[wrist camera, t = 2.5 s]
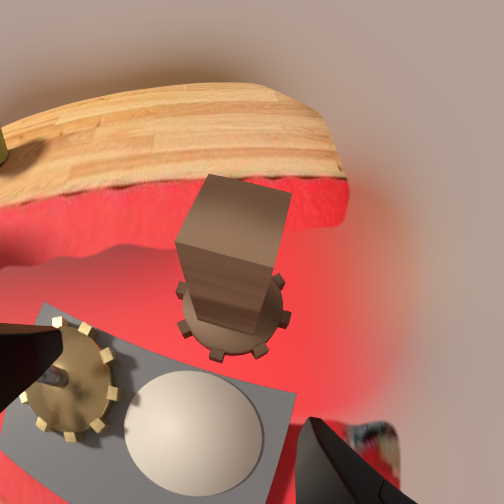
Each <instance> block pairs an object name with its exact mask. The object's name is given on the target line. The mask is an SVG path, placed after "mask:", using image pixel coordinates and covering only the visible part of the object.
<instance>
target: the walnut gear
mask: <svg viewBox="0 0 504 504" xmlns="http://www.w3.org/2000/svg"><path fill="white" fill-rule="evenodd" d="M291 196H292V193H288V192H285V191H281V190H277V189H273V188H269V187H265V186H261V185H256V184H252V183H248V182H244V181H239V180H235V179H231V178H226V177H222V176H217V175H212V174H208V176H207V178H206V180H205V182H204V184H203V186H202V188H201V189H200V191H199V193H198V195H197V197H196V199H195V201H194V203H193V205H192V207H191V209H190V211H189V213H188V215H187V217H186V219H185V221H184V223H183V225H182V227H181V229H180V231H179V233H178V235H177V237H176V239H175V245H176V248H177V252H178V255H179V259H180V263H181V267H182V270H183V274H184V277H185V281H186V283H184V282H181V281H180V282H179V284H178V287H177V289H176V294H177V296H178V299H181V300H183V313H184V318H185V319H184V320H182V321H180V322H178V323H177V325H178V327H179V329H180V331H181V333H182V335H183V337H184V338H185V339H186V338H188V337H190V336H192V335H193V336H194V337H195V339H196V340H197V341H198V342H199V343H200V344H202V345H203V346H204V347H206V348H207V349H209V350H211V352H210V354H209V358H210V360H213V361H216V362H219V363H222V362H223V359H224V356H225V355H230V356H234V355H243V354H247V353H250V352H251V353H252V354H253V356H254V358H255V359H258V358H260V357H262V356H264V355H265V354H267V352H268V351H269V349H268V348H267V346H266V345H265V343H266V342H267V341H268V340H269V339H270V338H271V336H272V335H273V334H274V332H275V330H276V329H277V327H280V328H283V329H286V327H287V326H288V324H289V321H290V317H291V312H288V311H284V310H283V301H282V295H281V292H280V291H281V290H282V289H283V287H284V285H285V281H284V280H283V278H282V276H281V275H280V274H279V273H278V274H276V275H274V276H271V275H272V272H273V268H274V265H275V261H276V256H277V253H278V249H279V245H280V241H281V237H282V233H283V229H284V225H285V221H286V217H287V212H288V208H289V204H290V200H291Z"/></svg>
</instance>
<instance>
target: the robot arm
mask: <svg viewBox="0 0 504 504" xmlns="http://www.w3.org/2000/svg"><path fill="white" fill-rule="evenodd" d="M62 353H63V339H62V332H61V330H60V329H58V328H56V327H54V326H43V325H22V324H7V323H0V413H1V412H2V411H3V410H4V409H6V408H7V407H8V406H9V405H10V404H11V403H12V402H13V401H14V400H15V399H17V398H18V397H19V396H20V395H21V394H22V393H23V392H24V391H25V390H27V389H28V388H29V387H30V386H31V385H32V384H33V383H35V382H36V381H37V380H38V379H39V378H40V377H41V376H42V375H43V374H44V373H45V372H46V371H47V370H48V369H49V368H50V367H51V365H52V364H53V363H54V362H55V361H56V360H57V359H58V358H59V357H60V356H61V354H62ZM295 489H296V504H417V503H416V502H415V501H413V500H411V499H410V498H409V497H407V496H406V495H404V494H403V493H402V492H401V491H400V490H398V489H397V488H396V487H395V486H393V485H392V484H391V483H390V482H389V481H388V480H386V479H384V477H382V476H381V475H380V474H379V473H378V472H377V471H376V470H375V469H373V468H372V467H371V466H370V465H369V464H368V463H367V462H366V461H365V460H364V459H362V458H361V457H360V456H359V455H358V454H357V453H356V452H355V451H354V450H353V449H352V448H351V447H350V446H349V445H348V444H347V443H345V442H344V441H343V440H342V439H341V438H340V437H339V436H338V435H337V434H336V433H335V432H334V431H333V430H332V429H331V428H330V427H329V426H328V425H327V424H326V423H325V422H324V421H323V420H322V419H321V418H315V417H309V418H308V419H307V420H306V422H305V424H304V426H303V427H302V429H301V431H300V433H299V436H298V444H297V454H296V465H295Z"/></svg>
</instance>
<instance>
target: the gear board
mask: <svg viewBox="0 0 504 504" xmlns="http://www.w3.org/2000/svg"><path fill="white" fill-rule="evenodd" d="M56 317H63V318H64V319H66V320H67V321H69V322H70V327H73V328H76V329H79V327H80V325H81V323H82V321H80V320H78V319H76V318H74V317H72V316H70V315H68V314H67V313H65V312H63V311H61V310H59V309H57V308H55V307H53V306H51V305H50V304H48V303H46V302H44V303H43V306H42V308H41V310H40V312H39V315H38V317H37V319H36V322H35V324H34V325H43V326H53V318H56ZM86 324H87V323H86ZM88 325H89V324H88ZM89 326H91V325H89ZM91 327H92V328H94V329H95V330H97V331H98V332H99V334H98V336H97V338H96V340H95V341H96V342H97V343H98V344H99V345H100V346H101V347H102V348H103V349H105V348H107V347H109V348H111V349H112V350H114V351H115V352H116V354H117V356H118V358H119V361H120V363H118V364H116V365H114V366H112V367H113V370H114V375H115V383H116V387H117V388H121V389H125V392H124V401H123V402H120V401H115V400H114V402H113V405H112V408H111V410H110V412H109V414H108V416H107V417H106V418H107V419H108V420H109V421H110V422H111V423H112V424H113V425H112V426H111V427H110V428H109V429H108V430H107V432H106V433H97V432H96V431H95V430H94V429H91V430H88V431H84V432H83V434H84V439H85V441H80V442H66V441H65V436H64V432H62V431H58V430H54V432H43V431H42V430H41V429H40V428H39V427H37V426H36V422H37V419H38V417H37V415H36V414H35V413H34V412H33V410H32V408H31V407H30V405H28V404H22V403H21V400H20V397H18V398H17V399H15V400H14V401H13V402H12V403H11V404H10V405H9V406H8V407H7V408H6V412H5V416H4V420H3V425H2V430H1V435H0V450H1V451H2V452H3V453H4V454H6V455H7V456H8V457H9V458H10V459H11V460H12V461H13V462H15V463H16V464H17V465H18V466H19V467H20V468H22V469H23V470H24V471H25V472H27V473H28V474H29V475H30V476H32V477H33V478H34V479H36V480H37V481H38V482H40V483H41V484H42V485H44V486H45V487H46V488H48V489H49V490H51V491H52V492H54V493H55V494H56V495H58V496H59V497H61V498H63V499H64V500H66V501H67V502H69V503H70V504H265V502H266V499H267V497H268V494H269V490H270V487H271V484H272V481H273V478H274V475H275V472H276V468H277V465H278V462H279V458H280V455H281V451H282V448H283V444H284V441H285V437H286V434H287V430H288V426H289V422H290V419H291V415H292V411H293V407H294V403H295V398H296V395H297V394H296V393H291V392H286V391H282V390H277V389H273V388H269V387H265V386H260V385H256V384H252V383H248V382H244V381H241V380H237V379H234V378H230V377H226V376H223V375H220V374H216V373H213V372H210V371H206V370H203V369H200V368H197V367H194V366H191V365H188V364H185V363H182V362H179V361H176V360H173V359H170V358H168V357H165V356H162V355H160V354H157V353H154V352H151V351H149V350H146V349H144V348H141V347H139V346H136V345H134V344H131V343H129V342H127V341H124V340H122V339H120V338H117V337H115V336H113V335H110V334H108V333H106V332H104V331H101V330H99V329H97V328H95V327H93V326H91Z"/></svg>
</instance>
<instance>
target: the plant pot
mask: <svg viewBox="0 0 504 504" xmlns="http://www.w3.org/2000/svg"><path fill="white" fill-rule="evenodd" d="M7 156H8V150H7V147H6V144H5V140H4V137H3V134H2V130H1V127H0V164H1V163H2V162H4V161H5V160H6V158H7Z"/></svg>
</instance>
